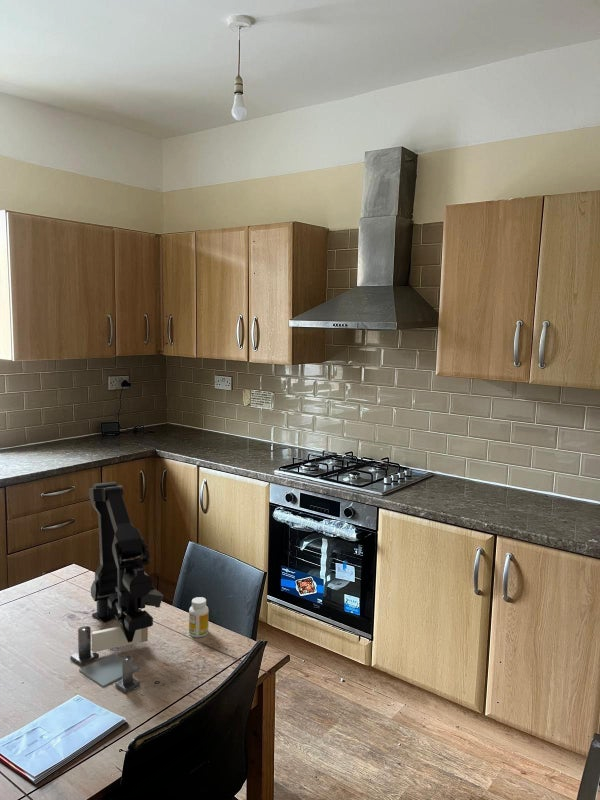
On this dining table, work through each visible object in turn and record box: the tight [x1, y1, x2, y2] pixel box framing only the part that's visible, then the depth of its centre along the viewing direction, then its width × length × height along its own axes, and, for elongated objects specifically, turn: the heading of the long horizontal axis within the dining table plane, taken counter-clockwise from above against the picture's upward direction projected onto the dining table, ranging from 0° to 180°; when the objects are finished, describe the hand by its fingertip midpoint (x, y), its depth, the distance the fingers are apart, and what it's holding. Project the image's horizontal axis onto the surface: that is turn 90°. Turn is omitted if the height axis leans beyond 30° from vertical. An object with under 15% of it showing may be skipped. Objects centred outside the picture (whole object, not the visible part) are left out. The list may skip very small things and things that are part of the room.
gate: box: [91, 625, 149, 653], centre depth 158 cm, size 14×2×5 cm, turn 118°
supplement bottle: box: [188, 596, 210, 638], centre depth 168 cm, size 5×5×10 cm
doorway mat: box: [79, 653, 139, 688], centre depth 149 cm, size 10×10×1 cm
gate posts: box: [69, 625, 141, 694], centre depth 148 cm, size 22×5×8 cm, turn 52°
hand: (130, 641), depth 157 cm, fingers closed
